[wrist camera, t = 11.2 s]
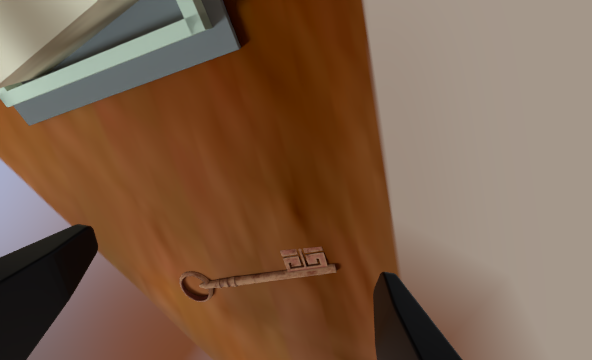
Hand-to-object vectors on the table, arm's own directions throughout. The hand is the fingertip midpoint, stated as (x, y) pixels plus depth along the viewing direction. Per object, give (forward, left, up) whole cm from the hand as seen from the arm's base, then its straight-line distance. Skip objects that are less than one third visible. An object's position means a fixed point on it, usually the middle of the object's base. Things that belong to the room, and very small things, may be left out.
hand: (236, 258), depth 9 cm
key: (+14, +4, -13) cm, 19 cm away
